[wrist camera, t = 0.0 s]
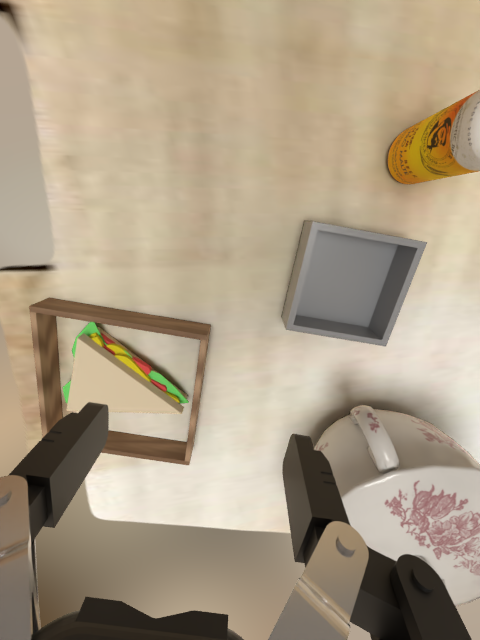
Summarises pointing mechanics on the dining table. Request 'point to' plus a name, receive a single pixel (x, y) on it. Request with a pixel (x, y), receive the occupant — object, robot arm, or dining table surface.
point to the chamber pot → (409, 492)
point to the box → (349, 282)
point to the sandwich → (117, 378)
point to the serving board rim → (50, 308)
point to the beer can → (439, 144)
